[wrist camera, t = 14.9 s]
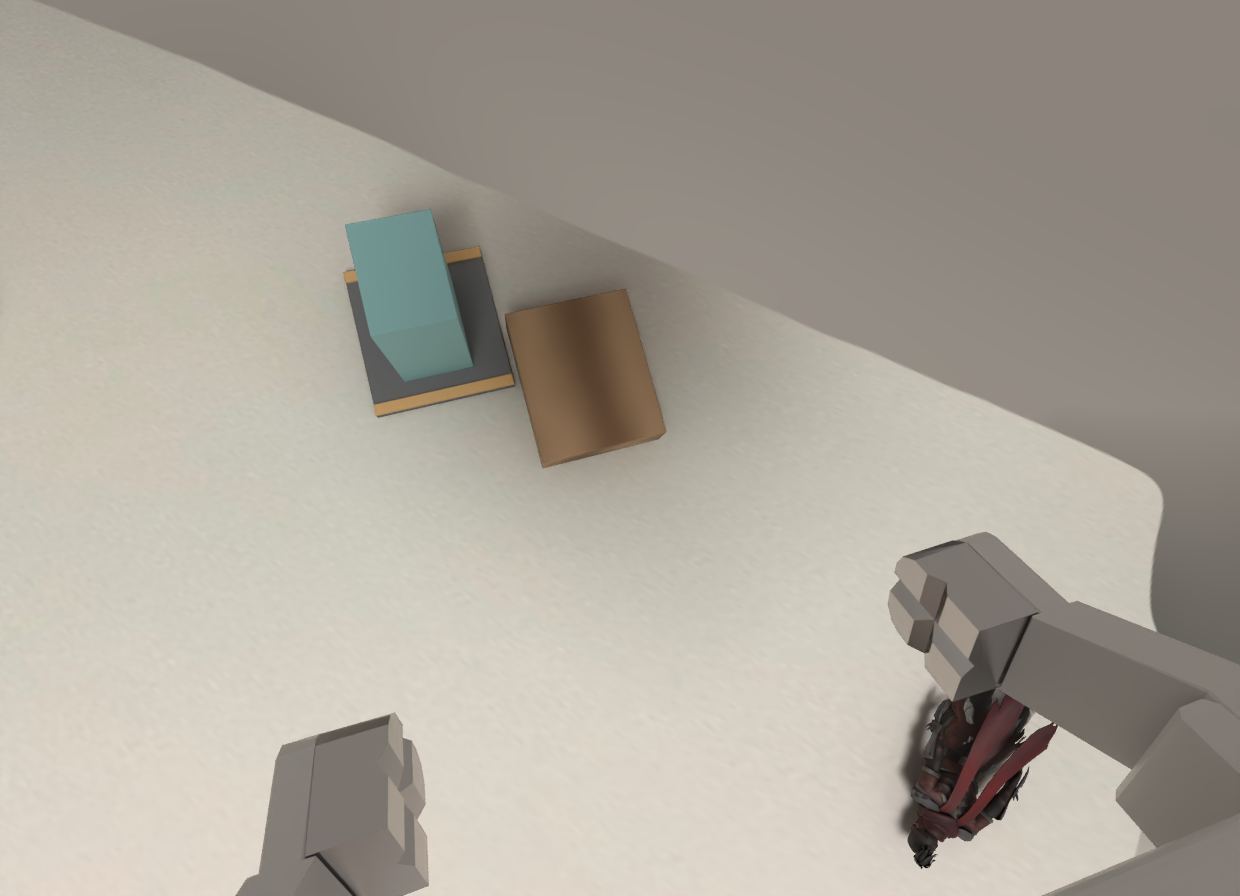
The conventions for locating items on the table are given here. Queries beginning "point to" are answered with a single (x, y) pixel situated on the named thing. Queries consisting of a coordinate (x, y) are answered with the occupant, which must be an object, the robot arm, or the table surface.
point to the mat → (480, 336)
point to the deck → (584, 377)
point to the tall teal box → (409, 294)
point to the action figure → (971, 769)
